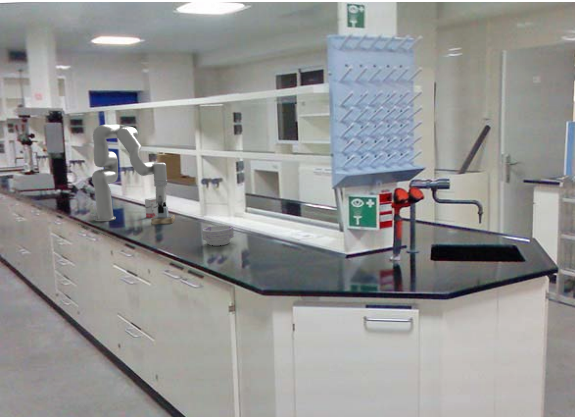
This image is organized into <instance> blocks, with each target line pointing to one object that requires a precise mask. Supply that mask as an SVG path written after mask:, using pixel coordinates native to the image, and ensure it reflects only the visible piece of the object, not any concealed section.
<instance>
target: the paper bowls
mask: <svg viewBox="0 0 575 417" xmlns="http://www.w3.org/2000/svg"><path fill="white" fill-rule="evenodd" d="M201 234H202V235H201V236H202V240H203V241H205V242H206V243H207V244H208V245H209V246H212V245H213V246H214V247H218V246H220V245H221V246H226V245H228V244H229V243H230V242H231V239H233V238H234V237H235V236H234V234H235V233H234V227H233V226H231V225H213V226H212V225H211V226H207V227H204V228H202V229H201Z"/></svg>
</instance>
